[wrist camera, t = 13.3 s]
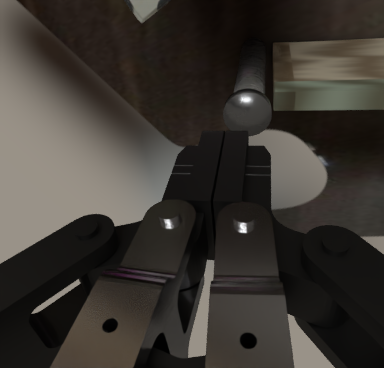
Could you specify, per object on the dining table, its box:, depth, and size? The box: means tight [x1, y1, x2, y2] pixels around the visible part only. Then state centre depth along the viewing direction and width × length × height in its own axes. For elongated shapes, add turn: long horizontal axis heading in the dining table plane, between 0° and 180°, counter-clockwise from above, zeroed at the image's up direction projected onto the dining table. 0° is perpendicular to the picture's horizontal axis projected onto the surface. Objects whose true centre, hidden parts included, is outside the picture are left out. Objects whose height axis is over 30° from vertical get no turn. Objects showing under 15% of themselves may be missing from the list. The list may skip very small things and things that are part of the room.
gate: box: [272, 38, 384, 111], centre depth 31 cm, size 16×2×12 cm, turn 96°
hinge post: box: [223, 38, 272, 136], centre depth 32 cm, size 4×4×15 cm
